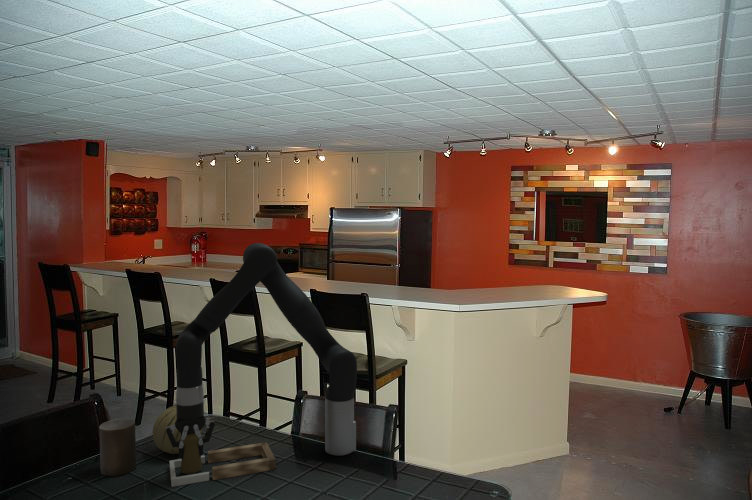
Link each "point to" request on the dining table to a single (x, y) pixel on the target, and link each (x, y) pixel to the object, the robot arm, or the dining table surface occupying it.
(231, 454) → the oak channel
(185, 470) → the olive gourd
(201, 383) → the robot arm
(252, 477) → the dining table surface
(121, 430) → the pillar candle
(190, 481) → the grey u-shaped staple
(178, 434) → the cantaloupe
